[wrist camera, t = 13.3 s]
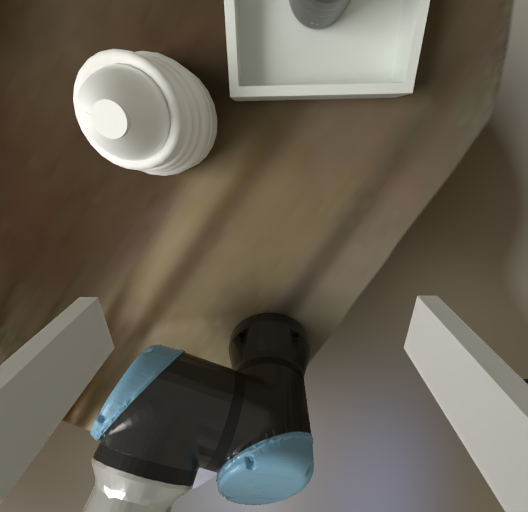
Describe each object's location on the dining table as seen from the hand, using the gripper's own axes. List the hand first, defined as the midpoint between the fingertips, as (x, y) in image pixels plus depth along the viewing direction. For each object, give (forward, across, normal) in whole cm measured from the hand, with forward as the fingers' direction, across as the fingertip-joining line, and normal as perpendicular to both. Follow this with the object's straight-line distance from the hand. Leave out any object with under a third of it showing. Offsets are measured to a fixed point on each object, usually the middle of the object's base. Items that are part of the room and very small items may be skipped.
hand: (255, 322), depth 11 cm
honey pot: (+30, +13, -9) cm, 34 cm away
